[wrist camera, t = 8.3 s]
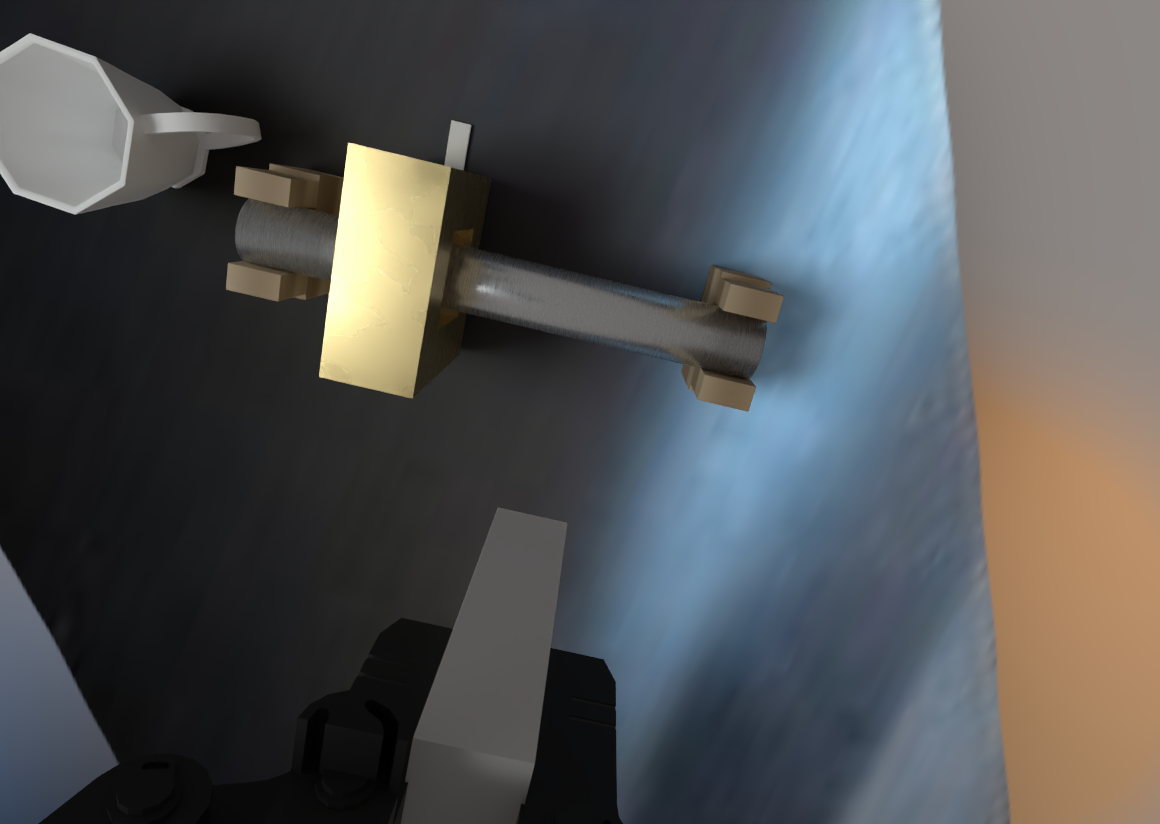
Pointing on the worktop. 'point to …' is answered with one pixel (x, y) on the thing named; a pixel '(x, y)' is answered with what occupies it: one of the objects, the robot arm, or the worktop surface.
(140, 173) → the cup
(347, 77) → the worktop surface
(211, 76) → the worktop surface
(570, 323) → the pipe
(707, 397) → the cradles
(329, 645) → the worktop surface
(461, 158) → the tick mark
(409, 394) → the collar
